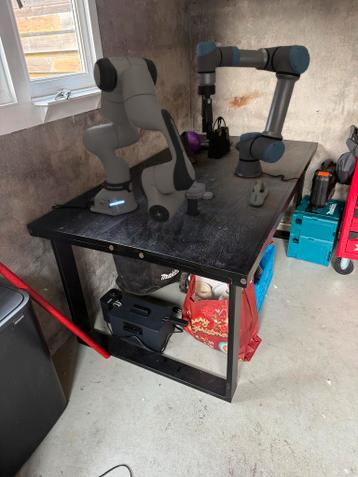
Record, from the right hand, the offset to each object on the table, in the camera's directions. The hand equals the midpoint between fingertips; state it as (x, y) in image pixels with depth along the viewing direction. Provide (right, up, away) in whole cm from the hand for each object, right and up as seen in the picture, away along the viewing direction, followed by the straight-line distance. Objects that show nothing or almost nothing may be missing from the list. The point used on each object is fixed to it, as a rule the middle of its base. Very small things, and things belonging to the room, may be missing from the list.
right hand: (207, 136), depth 149 cm
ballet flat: (+26, -26, +11) cm, 39 cm away
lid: (+1, -25, +14) cm, 29 cm away
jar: (-6, -35, 0) cm, 35 cm away
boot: (-7, +3, +65) cm, 66 cm away
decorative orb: (-5, +14, +85) cm, 86 cm away
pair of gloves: (+10, +25, +102) cm, 106 cm away
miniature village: (+44, +21, +91) cm, 103 cm away
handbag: (+15, +11, +78) cm, 80 cm away
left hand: (-11, -24, -20) cm, 33 cm away
